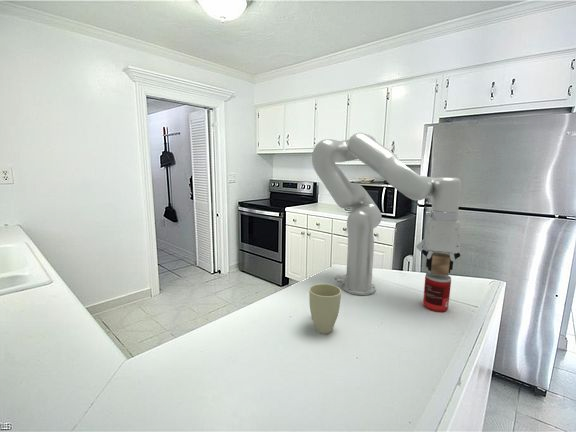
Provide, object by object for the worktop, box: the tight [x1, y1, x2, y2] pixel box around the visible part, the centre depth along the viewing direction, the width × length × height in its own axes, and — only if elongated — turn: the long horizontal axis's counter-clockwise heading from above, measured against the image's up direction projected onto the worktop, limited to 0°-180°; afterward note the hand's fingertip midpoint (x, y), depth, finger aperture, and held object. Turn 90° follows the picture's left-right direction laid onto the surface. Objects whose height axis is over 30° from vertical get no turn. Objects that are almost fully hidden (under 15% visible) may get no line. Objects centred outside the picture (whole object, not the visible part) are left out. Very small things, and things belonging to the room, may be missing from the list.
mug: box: [308, 283, 342, 335], centre depth 84 cm, size 11×10×12 cm
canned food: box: [422, 271, 452, 313], centre depth 97 cm, size 8×8×11 cm
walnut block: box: [429, 251, 450, 276], centre depth 96 cm, size 5×5×6 cm
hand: (438, 270), depth 96 cm, fingers closed on walnut block, 4 cm apart
